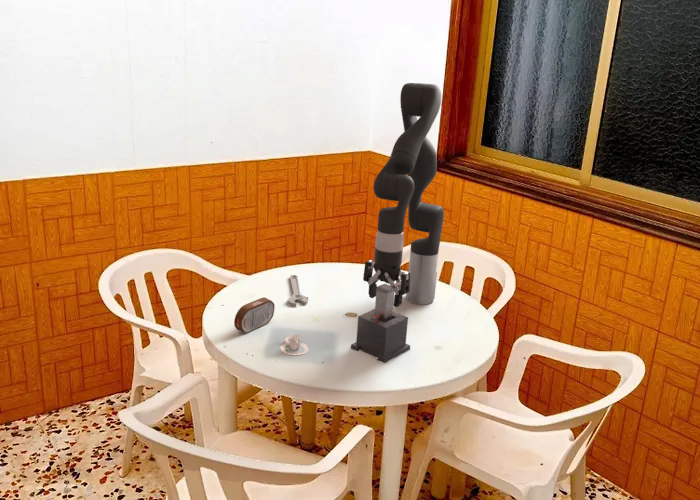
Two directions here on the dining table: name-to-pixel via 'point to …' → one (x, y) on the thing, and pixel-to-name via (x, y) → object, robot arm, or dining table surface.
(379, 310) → the column
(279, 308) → the dining table surface
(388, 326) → the housing
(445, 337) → the dining table surface
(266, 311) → the tin
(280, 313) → the dining table surface
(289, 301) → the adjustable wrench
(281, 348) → the teacup and saucer
